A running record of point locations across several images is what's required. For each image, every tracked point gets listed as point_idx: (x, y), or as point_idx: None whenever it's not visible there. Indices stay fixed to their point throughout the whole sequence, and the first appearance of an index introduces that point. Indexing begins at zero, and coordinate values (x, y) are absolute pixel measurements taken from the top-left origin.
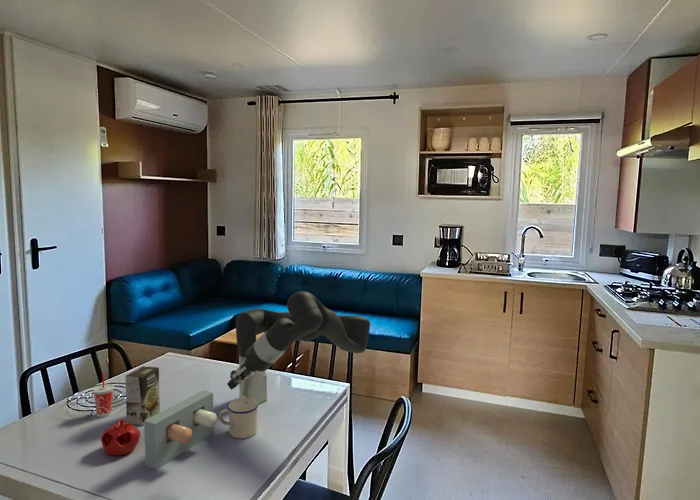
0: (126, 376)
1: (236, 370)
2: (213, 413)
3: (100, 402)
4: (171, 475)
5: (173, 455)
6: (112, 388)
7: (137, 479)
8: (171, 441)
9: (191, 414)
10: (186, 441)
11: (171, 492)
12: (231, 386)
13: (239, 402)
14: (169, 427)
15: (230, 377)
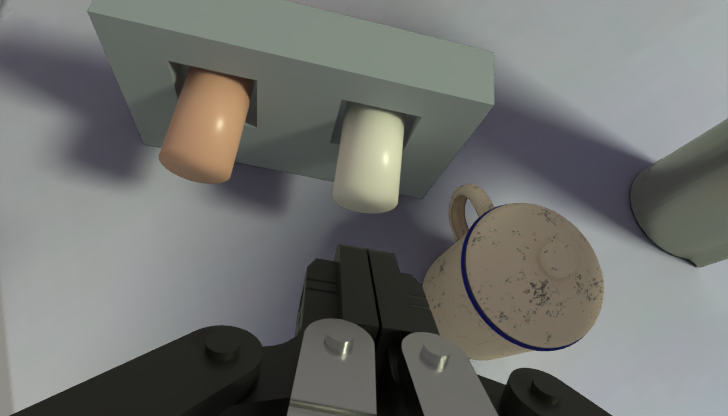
0: None
1: (290, 406)
2: (380, 188)
3: None
4: (122, 209)
5: None
6: None
7: (78, 118)
8: None
9: (331, 102)
10: (197, 179)
11: (13, 269)
12: (297, 321)
13: (521, 258)
14: (195, 73)
15: (186, 344)
